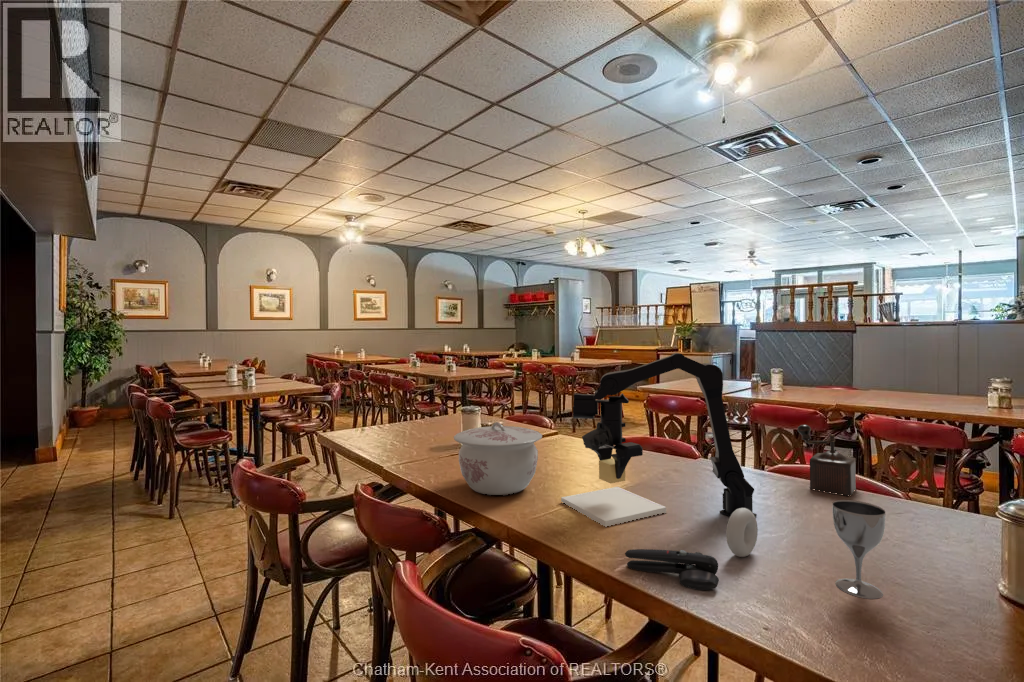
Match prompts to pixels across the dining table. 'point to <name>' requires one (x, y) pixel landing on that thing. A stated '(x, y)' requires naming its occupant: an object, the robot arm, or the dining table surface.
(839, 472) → the coffee grinder
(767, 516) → the dining table surface
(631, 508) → the board
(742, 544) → the donut
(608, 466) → the cube
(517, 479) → the chamber pot
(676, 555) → the can opener
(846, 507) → the wine glass
